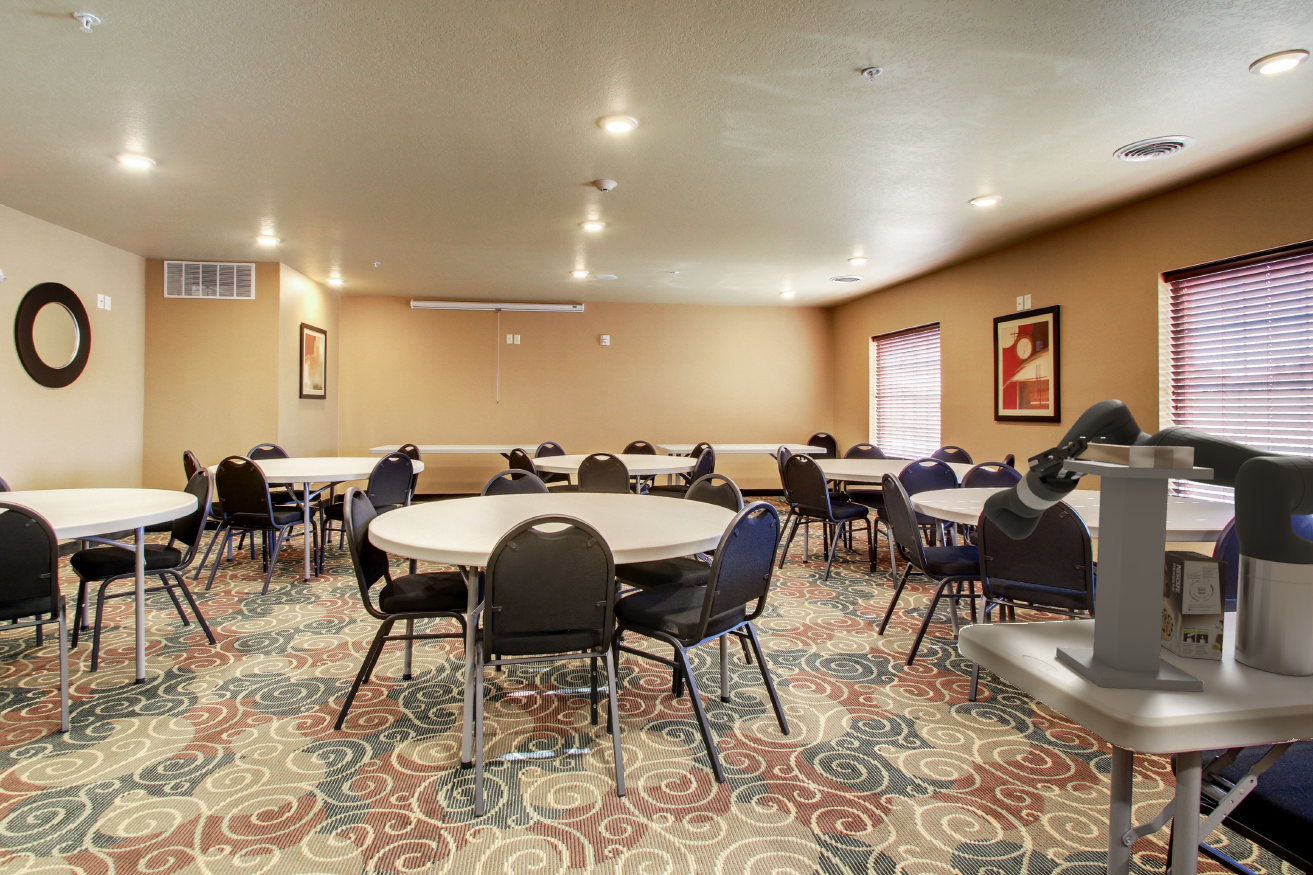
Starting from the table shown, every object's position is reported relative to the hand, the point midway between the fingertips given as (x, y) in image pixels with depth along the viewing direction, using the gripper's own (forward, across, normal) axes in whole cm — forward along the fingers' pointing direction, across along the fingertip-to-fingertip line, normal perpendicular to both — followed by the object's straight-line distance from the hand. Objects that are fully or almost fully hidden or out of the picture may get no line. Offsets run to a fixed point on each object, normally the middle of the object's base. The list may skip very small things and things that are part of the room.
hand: (1094, 442), depth 109 cm
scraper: (+3, 0, -5) cm, 6 cm away
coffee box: (-19, -17, -30) cm, 39 cm away
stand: (-8, 0, -35) cm, 36 cm away
